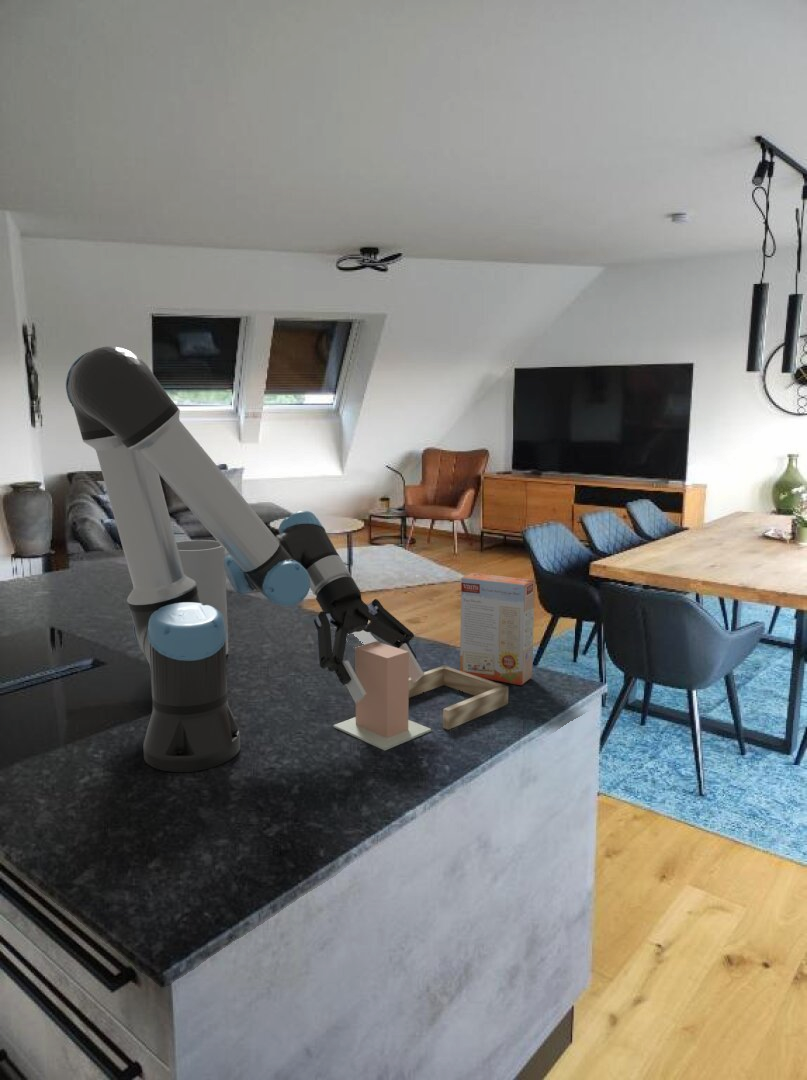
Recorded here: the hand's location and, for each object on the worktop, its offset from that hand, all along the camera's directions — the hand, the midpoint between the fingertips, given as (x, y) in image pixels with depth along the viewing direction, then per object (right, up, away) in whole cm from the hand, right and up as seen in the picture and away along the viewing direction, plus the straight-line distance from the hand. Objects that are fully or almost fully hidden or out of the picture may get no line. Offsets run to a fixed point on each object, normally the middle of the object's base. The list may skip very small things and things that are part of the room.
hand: (391, 688), depth 135 cm
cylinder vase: (-43, -1, +42) cm, 60 cm away
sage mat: (-2, -8, +3) cm, 8 cm away
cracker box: (+21, -3, +29) cm, 36 cm away
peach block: (-2, -7, +3) cm, 8 cm away
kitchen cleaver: (-7, 0, +50) cm, 51 cm away
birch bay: (+10, -6, +14) cm, 18 cm away
